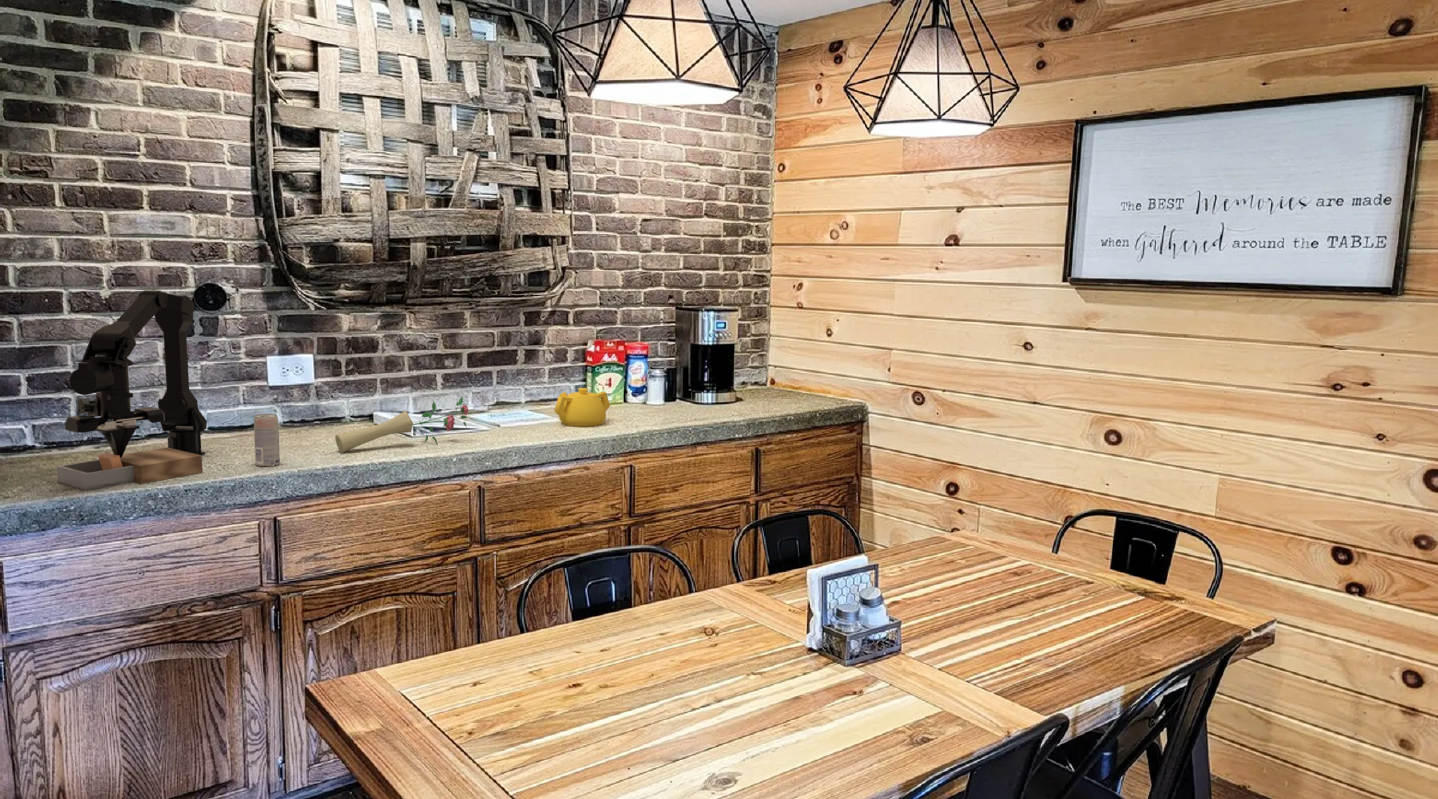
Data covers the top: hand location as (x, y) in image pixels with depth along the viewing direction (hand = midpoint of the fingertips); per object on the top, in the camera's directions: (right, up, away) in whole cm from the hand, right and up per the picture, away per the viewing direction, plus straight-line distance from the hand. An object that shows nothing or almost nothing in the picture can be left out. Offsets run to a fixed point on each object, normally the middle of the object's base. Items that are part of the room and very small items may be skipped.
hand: (118, 457), depth 223 cm
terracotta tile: (-1, -2, 0) cm, 2 cm away
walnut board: (+4, -4, +7) cm, 9 cm away
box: (-4, -5, -2) cm, 7 cm away
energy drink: (+24, -3, +20) cm, 31 cm away
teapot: (+90, +6, +88) cm, 126 cm away
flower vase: (+49, 0, +46) cm, 67 cm away
